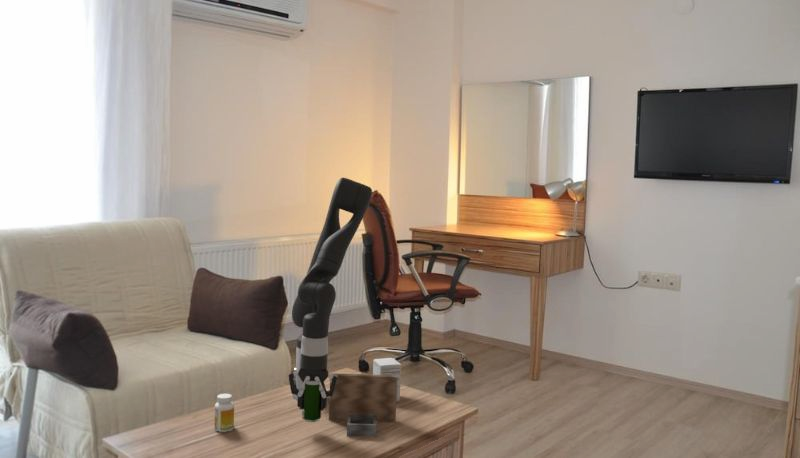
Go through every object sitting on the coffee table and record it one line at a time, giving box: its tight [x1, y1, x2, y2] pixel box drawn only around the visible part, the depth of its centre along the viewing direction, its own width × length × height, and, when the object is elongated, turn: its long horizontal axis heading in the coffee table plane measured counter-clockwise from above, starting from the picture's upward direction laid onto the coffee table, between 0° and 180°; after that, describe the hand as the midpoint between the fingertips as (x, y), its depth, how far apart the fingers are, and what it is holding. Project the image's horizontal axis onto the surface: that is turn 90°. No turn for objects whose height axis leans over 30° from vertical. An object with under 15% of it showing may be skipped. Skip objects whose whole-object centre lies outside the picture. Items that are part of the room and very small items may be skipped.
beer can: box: [301, 379, 322, 423], centre depth 194 cm, size 5×5×12 cm
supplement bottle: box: [213, 393, 235, 433], centre depth 196 cm, size 5×5×10 cm
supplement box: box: [372, 357, 402, 402], centre depth 225 cm, size 7×7×13 cm
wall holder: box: [328, 372, 398, 438], centre depth 200 cm, size 20×13×14 cm, turn 92°
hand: (311, 408), depth 195 cm, fingers closed on beer can, 5 cm apart
